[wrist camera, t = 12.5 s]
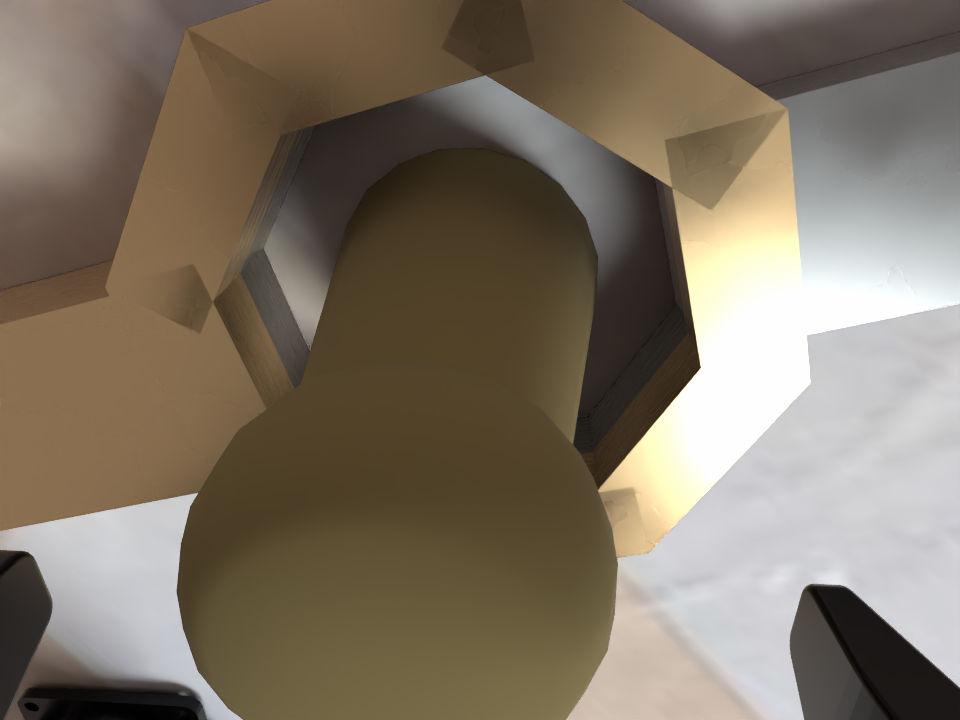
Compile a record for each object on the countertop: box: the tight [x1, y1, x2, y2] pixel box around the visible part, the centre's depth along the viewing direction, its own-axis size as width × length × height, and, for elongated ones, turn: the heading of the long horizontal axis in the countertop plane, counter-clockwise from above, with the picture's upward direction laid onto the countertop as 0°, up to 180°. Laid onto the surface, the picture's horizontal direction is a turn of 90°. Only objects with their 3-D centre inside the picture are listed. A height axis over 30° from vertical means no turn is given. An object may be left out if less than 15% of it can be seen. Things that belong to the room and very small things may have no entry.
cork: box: [177, 148, 618, 720], centre depth 12 cm, size 6×6×11 cm
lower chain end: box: [240, 32, 960, 454], centre depth 15 cm, size 26×13×2 cm, turn 106°
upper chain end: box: [0, 0, 810, 558], centre depth 17 cm, size 26×13×3 cm, turn 106°
